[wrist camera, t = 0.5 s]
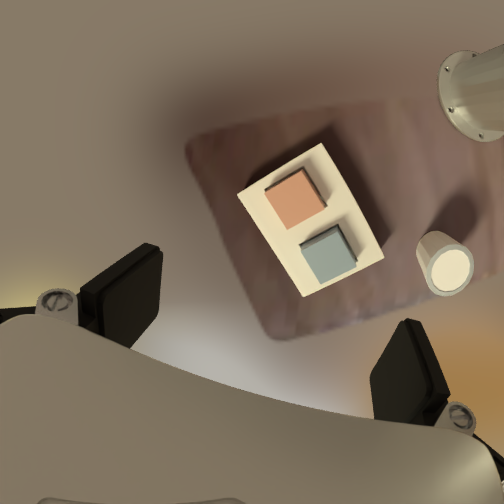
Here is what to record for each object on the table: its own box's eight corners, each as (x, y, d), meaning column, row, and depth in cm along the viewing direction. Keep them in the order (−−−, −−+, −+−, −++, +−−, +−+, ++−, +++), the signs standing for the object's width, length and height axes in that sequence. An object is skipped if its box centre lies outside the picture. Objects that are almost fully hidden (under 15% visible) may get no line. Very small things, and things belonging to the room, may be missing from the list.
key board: (321, 142, 35) (321, 142, 32) (380, 249, 38) (384, 257, 35) (243, 190, 40) (236, 194, 37) (305, 286, 43) (303, 297, 40)
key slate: (336, 225, 36) (337, 231, 34) (355, 258, 37) (356, 266, 35) (301, 244, 38) (300, 251, 36) (321, 275, 39) (320, 284, 37)
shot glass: (416, 223, 36) (433, 241, 29) (459, 229, 34) (480, 247, 28) (407, 270, 38) (420, 295, 32) (448, 274, 37) (465, 298, 30)
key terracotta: (302, 168, 34) (301, 170, 32) (324, 204, 35) (324, 209, 33) (267, 189, 36) (263, 193, 34) (289, 224, 37) (287, 230, 35)
